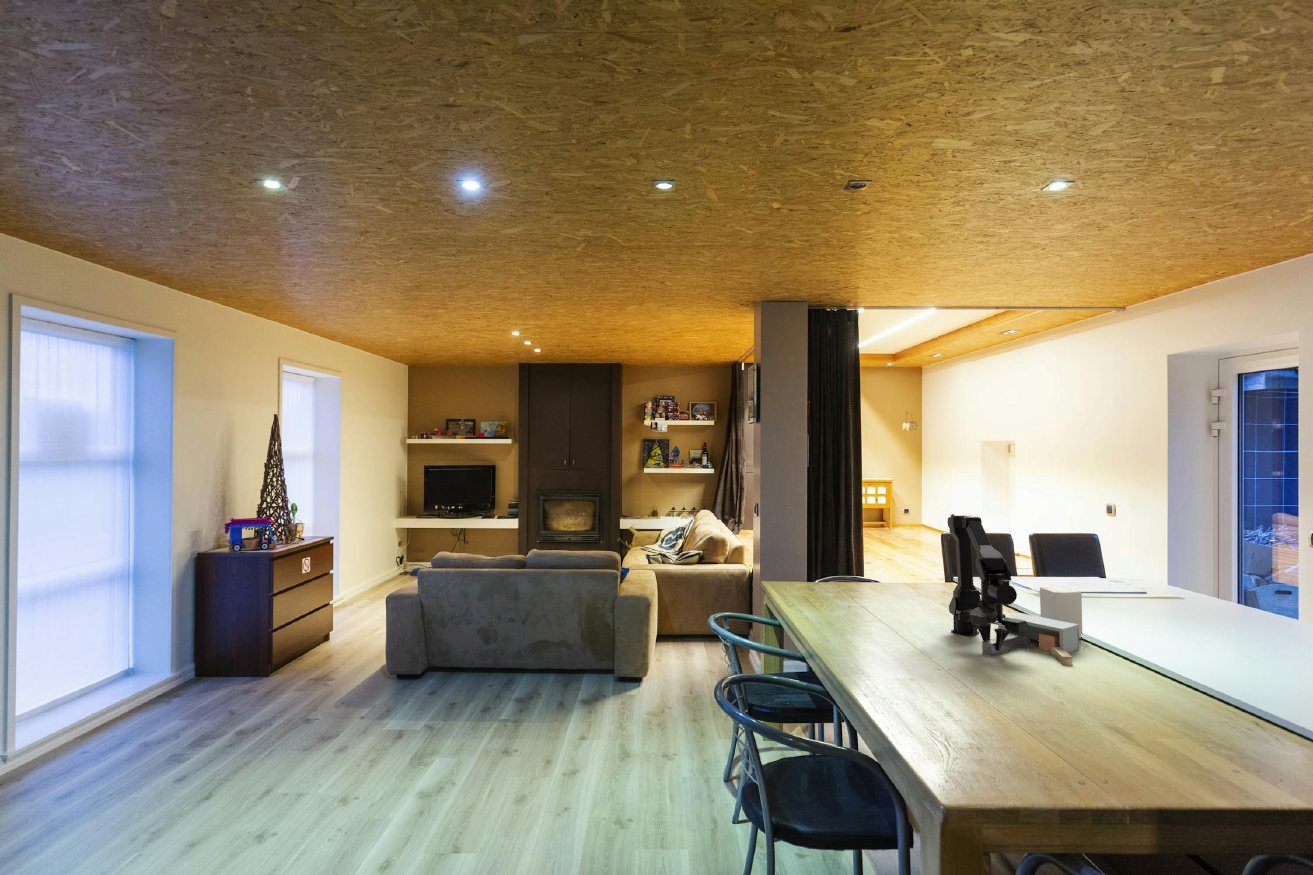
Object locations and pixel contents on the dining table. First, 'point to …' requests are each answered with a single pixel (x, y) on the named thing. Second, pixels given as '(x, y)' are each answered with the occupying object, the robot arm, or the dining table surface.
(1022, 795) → the dining table surface
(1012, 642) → the grey rectangular bar
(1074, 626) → the cubby
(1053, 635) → the block
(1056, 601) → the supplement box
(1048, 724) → the dining table surface
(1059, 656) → the rod
